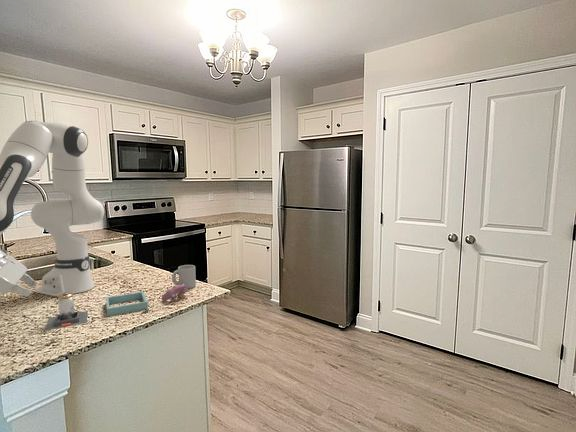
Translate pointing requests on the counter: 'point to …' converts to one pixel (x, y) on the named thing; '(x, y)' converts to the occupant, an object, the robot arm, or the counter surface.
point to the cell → (66, 306)
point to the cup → (185, 276)
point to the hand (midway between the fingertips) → (32, 289)
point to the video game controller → (175, 292)
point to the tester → (66, 321)
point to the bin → (130, 307)
